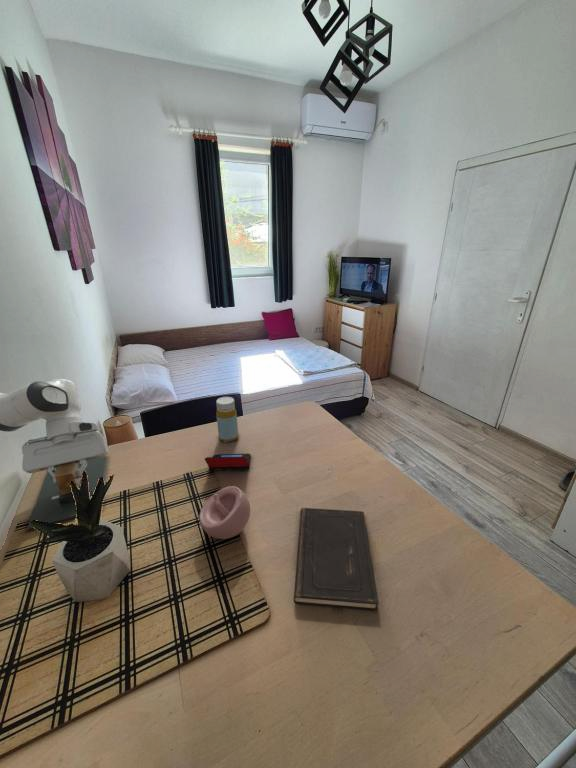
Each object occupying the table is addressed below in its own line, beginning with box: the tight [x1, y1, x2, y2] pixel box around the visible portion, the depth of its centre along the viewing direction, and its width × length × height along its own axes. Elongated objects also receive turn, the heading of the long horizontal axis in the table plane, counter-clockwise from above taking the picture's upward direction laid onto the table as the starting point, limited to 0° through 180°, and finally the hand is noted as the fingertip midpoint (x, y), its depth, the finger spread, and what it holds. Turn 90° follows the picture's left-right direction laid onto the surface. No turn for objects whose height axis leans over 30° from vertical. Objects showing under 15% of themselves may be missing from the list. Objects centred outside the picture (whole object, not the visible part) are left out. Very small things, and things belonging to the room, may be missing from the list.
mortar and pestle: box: [198, 485, 251, 540], centre depth 78 cm, size 12×12×11 cm
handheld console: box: [204, 453, 252, 472], centre depth 101 cm, size 12×11×7 cm
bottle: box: [215, 396, 239, 443], centre depth 115 cm, size 7×7×15 cm
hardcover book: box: [293, 507, 380, 612], centre depth 72 cm, size 16×23×2 cm
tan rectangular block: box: [55, 461, 81, 505], centre depth 90 cm, size 5×10×8 cm, turn 24°
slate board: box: [26, 456, 108, 532], centre depth 94 cm, size 16×26×1 cm, turn 24°
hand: (69, 480), depth 90 cm, fingers closed on tan rectangular block, 4 cm apart
